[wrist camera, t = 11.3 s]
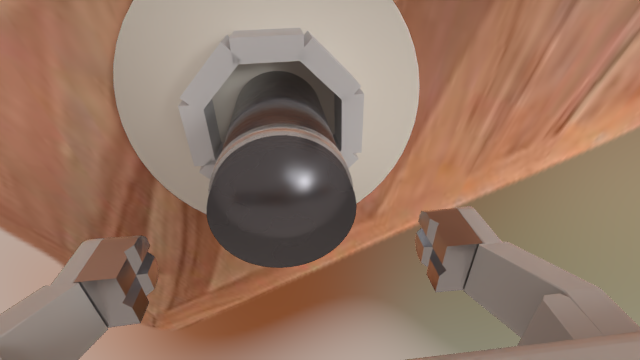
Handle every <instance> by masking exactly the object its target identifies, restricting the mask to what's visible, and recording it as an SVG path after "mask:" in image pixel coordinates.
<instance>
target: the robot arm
mask: <svg viewBox="0 0 640 360" xmlns="http://www.w3.org/2000/svg"><path fill="white" fill-rule="evenodd" d="M418 222H419V224H420V225H421V229H420V230H419V231H418V232H417V233H416V239H415V243H416V251H417V254H418V257H419V259H420V261H421V263H422V264H424V265H425V266H427V267H428V270H427V276H428V278H429V280H430V282H431V284H432V286H433V288H434V290H435V292H442V291H454V290H464V292H465V293H466V294H468V295H469V296H471V298H473V299H474V300H475V301H476V302H478V303H479V304H480V305H481V306H483V307H484V308H485V309H486V310H488V311H489V312H490V313H491V314H492V315H494V316H495V317H496V318H497V319H499V320H500V321H501V322H502V323H504V324H505V325H506V326H507V327H508V328H510V329H511V330H512V331H513V332H515V333H516V334H517V335H518V336H520V337H521V340H520V342H519V343H518V345H517V346H514V347H506V348H498V349H489V350H481V351H473V352H464V353H456V354H448V355H440V356H432V357H423V358H415V359H407V360H640V327H639V326H638V325H637V324H636V323H635V322H634V321H633V320H632V319H631V318H630V317H629V316H628V315H627V314H626V313H625V312H624V311H623V310H622V309H621V308H620V307H619V306H618V305H617V304H616V303H615V302H614V301H613V300H612V299H611V298H610V297H609V296H608V295H607V294H606V293H605V292H604V291H603V290H602V289H601V288H599V287H597V286H595V285H593V284H591V283H589V282H587V281H585V280H583V279H581V278H579V277H577V276H575V275H573V274H571V273H569V272H567V271H565V270H563V269H561V268H559V267H557V266H555V265H553V264H551V263H549V262H547V261H545V260H543V259H541V258H539V257H537V256H535V255H533V254H531V253H529V252H527V251H525V250H523V249H521V248H519V247H517V246H515V245H513V244H511V243H509V242H502V241H501V240H500V239H499V238H498V236H497V235H496V234H495V233H494V232H493V230H492V229H491V228H490V227H489V226H488V224H487V223H486V222H485V221H484V220H483V218H482V217H481V216H480V215H479V214H478V212H477V211H476V210H475V209H474V208H473V207H471V206H466V207H457V208H451V209H440V210H430V211H422V212H421V214H420V216H419V221H418ZM149 247H150V244H149V242H148V240H147V238H146V237H144V236H128V237H112V238H101V239H88V240H86V241H84V242H82V243H81V245H80V246H79V247H78V249H77V250H76V251H75V253H74V254H73V255H72V257H71V258H70V260H69V261H68V262H67V264H66V265H65V266H64V268H63V269H62V270H61V272H60V273H59V274H58V276H57V277H56V278H55V280H54V281H53V282H52V284H51V285H50V286H43V287H42V288H40V289H39V290H37V291H36V292H34V293H32V294H31V295H29V296H28V297H26V298H25V299H23V300H22V301H20V302H19V303H17V304H15V305H14V306H12V307H11V308H9V309H8V310H6V311H4V312H3V313H1V314H0V360H78V359H79V358H80V357H81V356H82V355H83V354H84V353H85V352H86V351H87V350H88V349H89V348H90V347H91V346H92V345H93V344H94V343H95V342H96V341H97V340H98V339H99V338H100V337H101V336H102V335H103V334H104V333H105V332H106V331H107V330H108V328H109V327H115V326H124V325H131V324H139V323H141V321H142V318H143V316H144V313H145V311H146V308H147V306H148V304H149V301H148V299H147V297H146V296H147V295H148V294H149V293H150V292H151V291H153V290H154V288H155V286H156V283H157V280H158V271H159V270H158V264H157V261H156V258H155V257H154V256H153V255H151V254H150V253H148V252H147V251H148V249H149Z"/></svg>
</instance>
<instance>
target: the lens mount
mask: <svg viewBox="0 0 640 360" xmlns="http://www.w3.org/2000/svg"><path fill="white" fill-rule="evenodd" d="M270 71H285V72H289V73H293V74H295V75H297V76H299V77H301V78H302V79H304V80H305V81H306V82H308V83H309V84H310V86H311V87H312V88H313V89H314V91H315V92H316V94H317V96H318V99H319V101H320V104H321V107H322V109H323V112H324V114H325V117H326V120H327V122H328V125H329V127H330V130H331V133H332V135H333V138H334V141H335V143H336V146H337V148H338V150H339V151H340V152H341V154H342V156H343V158H344V159H345V162H346V164H347V167H348V169H349V172H350V175H351V178H352V183H353V190H354V193H355V198H356V203H358V202H359V201H361V200H362V199H363V198H365V197H366V196H367V195H368V194H370V193H371V192H372V191H373V190H374V189H375V188H376V187H377V186H378V185H379V184H380V183H381V182H382V181H383V180H384V179H385V178H386V176H387V175H388V174H389V173H390V171H391V170H392V169H393V168H394V166H395V164H396V163H397V161H398V160H399V158H400V156H401V155H402V153H403V151H404V149H405V147H406V145H407V142H408V140H409V138H410V135H411V132H412V129H413V126H414V123H415V119H416V114H417V109H418V101H419V87H420V86H419V68H418V63H417V57H416V52H415V47H414V44H413V41H412V38H411V35H410V33H409V30H408V27H407V25H406V23H405V21H404V19H403V17H402V15H401V13H400V11H399V9H398V8H397V6H396V5H395V3H394V2H393V0H133V2H132V4H131V6H130V8H129V10H128V12H127V14H126V16H125V18H124V20H123V23H122V26H121V29H120V32H119V36H118V39H117V42H116V49H115V56H114V63H113V81H114V92H115V98H116V105H117V109H118V112H119V115H120V119H121V122H122V125H123V128H124V130H125V132H126V134H127V137H128V139H129V141H130V143H131V145H132V147H133V148H134V150H135V152H136V153H137V155H138V156H139V158H140V160H141V161H142V162H143V164H144V165H145V166H146V167H147V169H148V170H149V171H150V172H151V174H152V175H153V176H154V177H155V178H156V179H157V180H158V181H159V182H160V183H161V184H162V185H163V186H164V187H165V188H166V189H167V190H169V191H170V192H171V193H173V194H174V195H175V196H176V197H178V198H179V199H180V200H182V201H183V202H185V203H187V204H188V205H190V206H191V207H193V208H195V209H197V210H199V211H201V212H203V213H205V214H207V200H208V189H209V183H210V179H211V176H212V173H213V169H214V166H215V163H216V161H217V159H218V157H219V155H220V154H221V152H222V149H223V145H224V142H225V138H226V135H227V132H228V128H229V125H230V121H231V118H232V115H233V111H234V108H235V104H236V101H237V98H238V95H239V93H240V91H241V90H242V88H243V87H244V86H245V85H246V84H247V82H249V81H250V80H251V79H252V78H254V77H256V76H257V75H260V74H262V73H265V72H270Z"/></svg>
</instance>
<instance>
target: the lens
mask: <svg viewBox="0 0 640 360" xmlns="http://www.w3.org/2000/svg"><path fill="white" fill-rule="evenodd" d="M355 215H356V198H355V193H354V190H353V183H352V178H351V175H350V172H349V169H348V167H347V164H346V162H345V159H344V158H343V156H342V154H341V152H340V151H339V150H338V148H337V146H336V143H335V141H334V138H333V135H332V133H331V130H330V127H329V125H328V122H327V120H326V117H325V114H324V112H323V109H322V107H321V104H320V101H319V99H318V96H317V94H316V92H315V91H314V89H313V88H312V87H311V86H310V84H309V83H308V82H306V81H305V80H304V79H302V78H301V77H299V76H297V75H295V74H293V73H289V72H285V71H270V72H265V73H262V74H260V75H257V76H256V77H254V78H252V79H251V80H250V81H249V82H247V84H246V85H245V86H244V87H243V88H242V90H241V91H240V93H239V95H238V98H237V101H236V104H235V108H234V111H233V115H232V118H231V121H230V125H229V128H228V132H227V135H226V138H225V142H224V145H223V149H222V152H221V154H220V155H219V157H218V159H217V161H216V163H215V166H214V169H213V173H212V176H211V179H210V183H209V189H208V200H207V219H208V224H209V226H210V229H211V231H212V233H213V235H214V237H215V238H216V239H217V241H218V242H219V243H220V244H221V245H222V246H223V247H224V248H225V249H226V250H227V251H229V252H230V253H231V254H233V255H234V256H236V257H238V258H239V259H242V260H244V261H246V262H249V263H252V264H255V265H260V266H265V267H277V268H282V267H293V266H299V265H303V264H306V263H309V262H312V261H315V260H317V259H319V258H321V257H323V256H324V255H326V254H328V253H329V252H331V251H332V250H333V249H335V248H336V247H337V246H338V245H339V244H340V243H341V242H342V241H343V240H344V238H345V237H346V236H347V234H348V233H349V231H350V229H351V227H352V225H353V222H354V219H355Z"/></svg>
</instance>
